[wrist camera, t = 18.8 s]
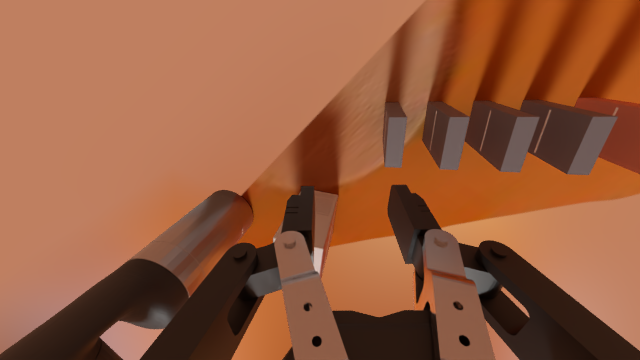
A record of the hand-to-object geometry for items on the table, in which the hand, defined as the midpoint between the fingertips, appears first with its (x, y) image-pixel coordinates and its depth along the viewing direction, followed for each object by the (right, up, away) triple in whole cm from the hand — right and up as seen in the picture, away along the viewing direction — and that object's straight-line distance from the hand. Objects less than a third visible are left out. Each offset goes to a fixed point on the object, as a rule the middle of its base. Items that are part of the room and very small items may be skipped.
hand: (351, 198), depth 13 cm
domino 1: (+8, +9, +18) cm, 22 cm away
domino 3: (+18, +8, +16) cm, 25 cm away
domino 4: (+23, +8, +15) cm, 28 cm away
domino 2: (+13, +9, +17) cm, 23 cm away
